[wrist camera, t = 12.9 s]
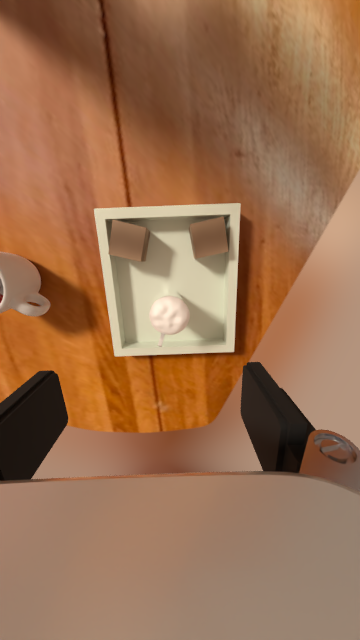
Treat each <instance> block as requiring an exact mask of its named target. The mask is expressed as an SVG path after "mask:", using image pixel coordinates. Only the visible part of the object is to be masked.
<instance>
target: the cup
mask: <svg viewBox="0 0 360 640" xmlns="http://www.w3.org/2000/svg"><path fill="white" fill-rule="evenodd" d="M40 287H41V277H40V274H39V272H38V270H37V268H36V267H35V266H34V265H33V264H32V263H31V262H30V261H29V260H27V259H26V258H24V257H21V256H19V255H15V254H10V253H4V252H0V313H2V312H4V311H6V310H9V309H11V308H12V309H14V310H16V311H18V312H20V313H22V314H25V315H28V316H40V315H43V314H45V313H46V312H47V311H48V310H49V308H50V302H49V300H48V299H47V298H45V297H44V296H42V295H40V294H39V293H38V292H39V290H40ZM27 302H34V303H37V304H39V305H40V306H33V305H30V304H28V303H27Z"/></svg>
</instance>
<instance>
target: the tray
mask: <svg viewBox="0 0 360 640" xmlns="http://www.w3.org/2000/svg"><path fill="white" fill-rule="evenodd" d="M240 205H241V203H229V204H203V205H177V206H151V207H125V208H99V209H94V213H95V220H96V227H97V234H98V242H99V249H100V256H101V263H102V270H103V277H104V284H105V291H106V298H107V305H108V312H109V319H110V326H111V333H112V341H113V348H114V355H115V356H138V355H165V354H192V353H219V352H234V343H235V320H236V297H237V274H238V251H239V228H240ZM223 216H224V223H225V230H226V237H227V244H228V252H224V253H220V254H215V255H211V256H206V257H202V258H197V259H194V255H193V250H192V244H191V239H190V234H189V226H190V224H193V223H197V222H202V221H206V220H210V219H215V218H219V217H223ZM112 220H117V221H121V222H125V223H129V224H133V225H137V226H141V227H145V228H147V229H148V230H149V231H150V238H149V244H148V249H147V255H146V261H144V262H139V261H135V260H130V259H126V258H122V257H118V256H113V255H109V254H108V253H109V245H110V237H111V228H112ZM168 291H176V292H177V293H178V294H179V295H181V297H182V299H183V301H184V302H185V304H186V305H187V307H188V309H189V312H190V318H189V322H188V324H187V326H186V327H185V328H184V329H183V330H182V331H181V332H179V333H177V334H174V335H167V334H165V337H164V340H163V344H162V347H160V346H158V342H159V339H160V336H161V333H160V332H159V331H157V330H156V329H155V328H154V327H153V326H152V324H151V321H150V317H149V313H150V309H151V307H152V305H153V303H154V302H155V301H156V300H158V299H159V298H160V297H161V296H162V295H164V294H165V293H167V292H168Z"/></svg>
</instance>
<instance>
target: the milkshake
mask: <svg viewBox="0 0 360 640" xmlns="http://www.w3.org/2000/svg"><path fill="white" fill-rule="evenodd" d="M149 317H150V321H151V324H152V326H153V327H154V328H155V329H156V330H157V331H159V332H160V333H161V336H160V339H159V342H158V346H160V347H162V344H163V340H164V337H165V334H167V335H174V334H177V333H179V332H181V331H182V330H183V329H184V328H185V327H186V326H187V324H188V322H189V318H190V312H189V309H188V307H187V305H186V304H185V302H184V301H183V299H182V297H181V295H179V294H178V293H177V292H176V291H168V292H167V293H165V294H164V295H162V296H161V297H160V298H159V299H158V300H156V301H155V302H154V303H153V305H152V307H151V309H150V313H149Z"/></svg>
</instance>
